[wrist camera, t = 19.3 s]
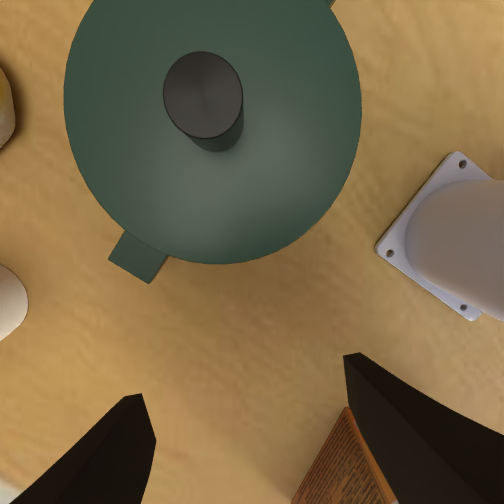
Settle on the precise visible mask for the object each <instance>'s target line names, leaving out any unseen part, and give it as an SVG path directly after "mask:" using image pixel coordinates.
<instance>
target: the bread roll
mask: <svg viewBox="0 0 504 504" xmlns="http://www.w3.org/2000/svg"><path fill="white" fill-rule="evenodd" d="M14 129H15V112H14V107H13V99H12V93H11V87H10V84H9V82H8V80H7V78H6V76H5V74H4V73H3V71H2V69H1V67H0V148H1V147H2V146H3V145H4V144H5V143H6V142H7V140H9V138H10V136H11V135H12V133H13V131H14Z"/></svg>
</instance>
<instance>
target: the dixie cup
mask: <svg viewBox="0 0 504 504" xmlns="http://www.w3.org/2000/svg"><path fill="white" fill-rule="evenodd" d="M27 310H28V299H27V293H26V291H25V288H24V286H23V285H22V283H21V281H20V280H19V279H18V278H17V277H16V275H15V274H13V273H12V272H11V271H10V270H9V269H7V268H6V267H4V266H2V265H0V341H1V340H2V339H4V338H5V337H6V336H7V335H8V334H10V333H11V332H12V331H13V330H14V329H16V328H17V327H18V326H19V325H20V324H21V323H22V322H23V320H24V318H25V316H26V314H27Z"/></svg>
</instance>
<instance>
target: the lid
mask: <svg viewBox="0 0 504 504" xmlns="http://www.w3.org/2000/svg"><path fill="white" fill-rule="evenodd" d="M64 114H65V122H66V130H67V134H68V138H69V142H70V146H71V150H72V152H73V155H74V158H75V160H76V163H77V166H78V168H79V170H80V172H81V174H82V176H83V178H84V180H85V182H86V184H87V186H88V188H89V189H90V190H91V192H92V193H93V195H94V196H95V198H96V199H97V201H98V202H99V204H100V205H101V206H102V207H103V208H104V209H105V211H106V212H107V213H108V214H109V215H110V216H111V218H112V219H114V220H115V221H116V222H117V223H118V224H119V225H120V226H121V227H122V228H123V229H124V230H125V231H127V232H128V233H130V234H131V235H132V236H134V237H135V238H137V239H138V240H139V241H141V242H142V243H144V244H146V245H148V246H150V247H151V248H153V249H155V250H157V251H159V252H162V253H164V254H167V255H169V256H172V257H175V258H178V259H182V260H186V261H190V262H196V263H203V264H233V263H241V262H246V261H250V260H254V259H258V258H261V257H264V256H266V255H269V254H271V253H274V252H276V251H278V250H280V249H282V248H284V247H285V246H287V245H289V244H291V243H292V242H294V241H295V240H297V239H298V238H299V237H301V236H302V235H304V234H305V233H306V232H307V231H308V230H309V229H310V228H311V227H313V226H314V225H315V224H316V223H317V222H318V221H319V220H320V219H321V217H322V216H323V215H324V214H325V213H326V211H327V210H328V209H329V208H330V207H331V205H332V204H333V202H334V200H335V199H336V197H337V196H338V194H339V193H340V191H341V189H342V187H343V185H344V183H345V181H346V179H347V177H348V175H349V172H350V170H351V167H352V164H353V161H354V158H355V155H356V151H357V146H358V142H359V137H360V128H361V118H362V106H361V89H360V82H359V75H358V71H357V67H356V63H355V60H354V56H353V52H352V50H351V47H350V45H349V42H348V40H347V38H346V35H345V33H344V31H343V29H342V27H341V25H340V24H339V22H338V20H337V18H336V17H335V15H334V13H333V12H332V10H331V9H330V8H329V6H328V5H327V4H326V2H325V1H324V0H94V1H93V2H92V4H91V5H90V7H89V9H88V11H87V12H86V14H85V16H84V17H83V19H82V21H81V23H80V25H79V27H78V30H77V32H76V35H75V37H74V39H73V42H72V45H71V49H70V53H69V57H68V60H67V64H66V72H65V80H64Z"/></svg>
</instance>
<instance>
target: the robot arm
mask: <svg viewBox="0 0 504 504" xmlns="http://www.w3.org/2000/svg"><path fill="white" fill-rule="evenodd" d="M460 161H461V162H462V166H461V168H459V162H460ZM388 250H391V253H390V255H388V256H387V255H386V252H387V251H388ZM375 252H376V253H377V254H378V255H379V256H381V257H382V258H384V259H385V260H386V261H388V262H389V263H390V264H392V265H393V266H394V267H396V268H397V269H399V270H400V271H401V272H403V273H404V274H405V275H407V276H408V277H410V278H411V279H412V280H414V281H415V282H416V283H418V284H419V285H420V286H422V287H423V288H425V289H426V290H427V291H429V292H430V293H431V294H433V295H434V296H436V297H437V298H438V299H440V300H441V301H442V302H444V303H445V304H447V305H448V306H449V307H451V308H452V309H453V310H455V311H456V312H457V313H459V314H460V315H462V316H463V317H464V318H466V319H468V320H470V321H473V320H476V319H477V318H478V317H479V316H480V315H481V314H482V313H483V312H484V313H486V314H488V315H490V316H492V317H494V318H496V319H498V320H499V321H501V322H503V323H504V180H493V179H492V178H491V177H490V176H489V175H487V174H486V173H485V172H484V171H483V170H482V169H480V168H479V167H478V166H477V165H476V164H475V163H473V162H472V161H471V160H470V159H469V158H468V157H466V156H465V155H464V154H463V153H461V152H458V151H456V152H452V153H450V154H449V155H447V157H446V158H445V159H444V160H443V162H442V163H441V164H440V165H439V167H438V168H437V169H436V170H435V172H434V173H433V174H432V175H431V177H430V178H429V179H428V180H427V182H426V183H425V184H424V185H423V187H422V188H421V189H420V190H419V192H418V193H417V194H416V195H415V197H414V198H413V199H412V200H411V202H410V203H409V204H408V205H407V207H406V208H405V209H404V210H403V212H402V213H401V214H400V215H399V217H398V218H397V219H396V220H395V222H394V223H393V224H392V225H391V227H390V228H389V229H388V230H387V231H386V233H385V234H384V235H383V236H382V238H381V239H380V240H379V241H378V243H377V244H376V246H375ZM462 304H463V306H462V307H461V308H460V306H461V305H462ZM343 360H344V369H345V377H346V386H347V394H348V403H349V406H350V409H351V411H352V414H353V416H354V419H355V421H356V423H357V426H358V428H359V430H360V433H361V435H362V437H363V439H364V441H365V442H366V444H367V446H368V448H369V450H370V452H371V453H372V455H373V457H374V459H375V461H376V463H377V464H378V466H379V468H380V470H381V472H382V473H383V475H384V477H385V479H386V481H387V483H388V484H389V486H390V488H391V490H392V492H393V493H394V495H395V497H396V499H397V501H398V503H399V504H504V435H502V434H500V433H498V432H495V431H493V430H491V429H489V428H487V427H485V426H483V425H481V424H479V423H477V422H475V421H473V420H471V419H469V418H467V417H465V416H463V415H461V414H459V413H457V412H455V411H453V410H451V409H449V408H447V407H446V406H444V405H442V404H440V403H439V402H437V401H435V400H433V399H432V398H430V397H428V396H426V395H425V394H423V393H421V392H420V391H418V390H416V389H415V388H413V387H411V386H410V385H408V384H407V383H405V382H404V381H402V380H400V379H399V378H397V377H396V376H394V375H393V374H391V373H390V372H388V371H387V370H385V369H384V368H382V367H381V366H379V365H378V364H376V363H375V362H374V361H372V360H371V359H369V358H368V357H366V356H365V355H363V354H362V353H360V352H359V353H354V354H349V355H343ZM155 445H156V438H155V435H154V431H153V428H152V425H151V422H150V419H149V415H148V412H147V409H146V406H145V403H144V399H143V396H142V393H140V394H135V395H130V396H125V397H123V398H122V399H121V400H120V401H119V402H118V403H117V404H116V405H115V406H114V407H112V408H111V409H110V410H109V411H108V412H107V413H106V414H105V415H104V416H103V417H102V418H101V419H100V420H99V421H98V422H97V423H96V424H95V425H94V426H93V427H92V428H91V429H90V430H89V431H88V432H87V433H86V434H85V435H84V436H83V437H82V438H81V439H80V440H79V441H78V442H77V443H76V444H75V445H74V446H73V447H72V448H71V449H70V450H69V451H68V452H67V453H65V454H64V455H63V456H62V457H61V458H60V459H59V460H58V461H57V462H56V463H55V464H54V465H52V466H51V467H50V468H49V469H48V470H47V471H46V472H45V473H44V474H43V475H42V476H41V477H40V478H38V479H37V480H36V481H35V482H34V483H33V484H32V485H31V486H30V487H28V488H27V489H26V490H25V491H24V492H23V493H21V494H20V495H19V496H18V497H17V498H16V499H14V500H13V501H12V502H11V503H10V504H141V501H142V498H143V495H144V491H145V488H146V485H147V482H148V478H149V475H150V471H151V466H152V461H153V456H154V451H155Z"/></svg>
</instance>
